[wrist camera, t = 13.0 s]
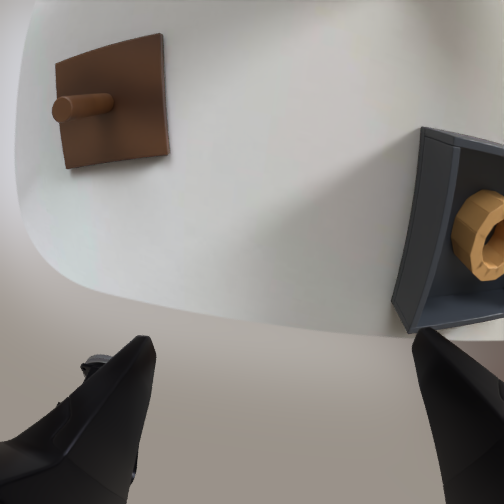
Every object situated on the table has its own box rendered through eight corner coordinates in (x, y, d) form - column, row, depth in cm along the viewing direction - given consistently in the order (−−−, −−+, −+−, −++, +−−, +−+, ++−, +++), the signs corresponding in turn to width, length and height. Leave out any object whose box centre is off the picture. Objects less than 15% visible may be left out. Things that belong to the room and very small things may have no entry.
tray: (501, 289, 23) (521, 313, 19) (390, 301, 23) (407, 334, 20) (537, 155, 16) (567, 169, 12) (420, 126, 16) (454, 135, 13)
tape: (493, 260, 20) (511, 278, 18) (443, 262, 21) (460, 283, 18) (511, 193, 17) (533, 207, 15) (460, 186, 17) (483, 201, 15)
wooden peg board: (170, 153, 18) (138, 175, 13) (70, 167, 18) (23, 192, 13) (163, 34, 14) (127, 14, 9) (59, 63, 14) (8, 63, 10)
